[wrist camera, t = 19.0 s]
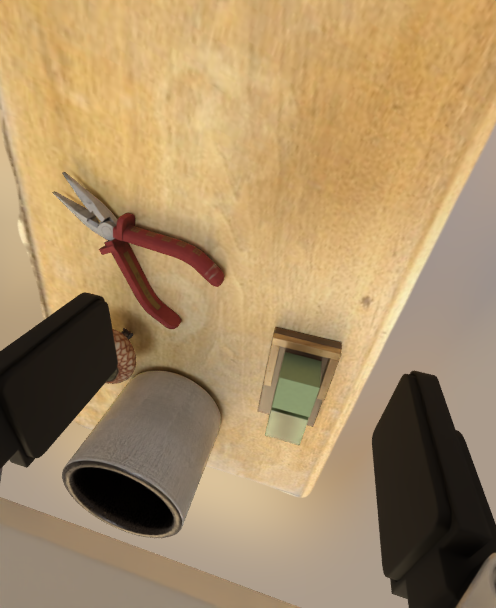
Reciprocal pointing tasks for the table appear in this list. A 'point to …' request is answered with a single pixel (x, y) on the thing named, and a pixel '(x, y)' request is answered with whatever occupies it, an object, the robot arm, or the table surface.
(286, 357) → the block
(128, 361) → the acorn
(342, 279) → the table surface
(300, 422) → the brown wooden rectangular tray
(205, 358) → the table surface
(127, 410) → the planter
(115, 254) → the pliers
